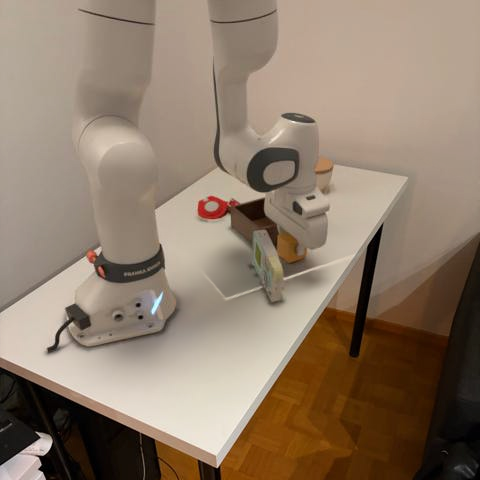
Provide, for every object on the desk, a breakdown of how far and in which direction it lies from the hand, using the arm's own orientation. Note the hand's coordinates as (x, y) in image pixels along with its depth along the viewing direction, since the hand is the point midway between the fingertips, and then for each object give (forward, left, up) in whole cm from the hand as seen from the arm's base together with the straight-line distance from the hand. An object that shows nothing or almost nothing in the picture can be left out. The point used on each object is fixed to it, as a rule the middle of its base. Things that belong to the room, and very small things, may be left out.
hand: (291, 247), depth 113 cm
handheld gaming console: (-10, -5, -4) cm, 12 cm away
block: (0, 0, -2) cm, 2 cm away
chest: (+3, +14, -4) cm, 15 cm away
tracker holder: (-4, +30, -4) cm, 31 cm away
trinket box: (+28, +30, -4) cm, 41 cm away
